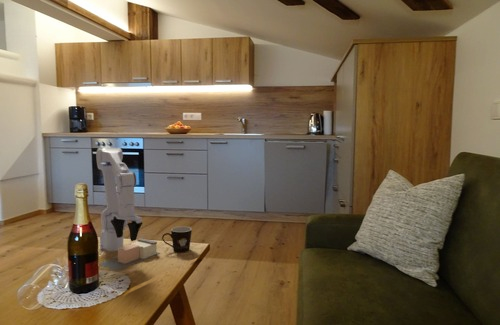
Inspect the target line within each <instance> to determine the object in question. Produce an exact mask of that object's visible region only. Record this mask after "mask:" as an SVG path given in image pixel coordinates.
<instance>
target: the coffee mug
mask: <svg viewBox="0 0 500 325" xmlns="http://www.w3.org/2000/svg"><path fill="white" fill-rule="evenodd" d="M192 231H193V229H192V227H189V226H175V227H172V228H171V230H170V232H171V233H169V232H167V233H164V234H162V237H161V240H162V241H163V242H164V243H165V244H166V245H168V246H170V247H171V248H172V249H173V252H174V253H178V254H181V253H182V254H183V253H187V252H189V251H190V247H191V238H192ZM167 235H168V236H170V237H171V242H172V244H170V243H168V242H167V241H165V239H164V237H165V236H167Z"/></svg>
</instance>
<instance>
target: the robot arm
mask: <svg viewBox="0 0 500 325" xmlns="http://www.w3.org/2000/svg"><path fill="white" fill-rule="evenodd" d="M95 153H96V154H95V155H96V157H95V158H96V166H97V169H98V170H100V171H101V172H102V175H103V176H102V177H103V184H104V194H105V203H106V208H105V209H104V210H103V211H102V212H100V227H101V229H102V230H101V232H100V233H99V247H100V248H99V250H105V251H108V252H115V251H117V252H118V249H119V248H122V247H124V230H125V228H127V227H128V229H129V230H128V231H129V237H130V242H134V241H135V242H136V241H137V238H138V235H139V232H140V229H141V227H142V225H143V217H142V216H139V215H136V214H135V187H136V186H137V175H136V172H135V171H130V169H129V167H128V166H127V164H126V163H125V162H122V161H123V157H124V153H123V149H121V147H117V148H97V150H96V152H95Z"/></svg>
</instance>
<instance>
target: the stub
mask: <svg viewBox="0 0 500 325" xmlns="http://www.w3.org/2000/svg"><path fill="white" fill-rule="evenodd" d="M130 244H131V243H130ZM117 257H118V262H121V263H128V262H131V261H133V260H136V259H138V258H139V246H138V245H134V244H131V245H129V244H128V245H126V246H123V247H122V248H119V249H118V250H117Z"/></svg>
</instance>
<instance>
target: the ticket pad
mask: <svg viewBox="0 0 500 325" xmlns="http://www.w3.org/2000/svg"><path fill="white" fill-rule="evenodd" d="M131 244H134V245H138V246H139V258H142V259H145V258H147V257H150V256H152V255H155V254H157V252H158V251H157V245H158V242H157V241H154V240H150V239H145V238H142V237H140V238H138V239H137V238H136V241H135V242H134V241H133V243H132V242H131V243H129V244H128V245H131ZM145 260H146V259H145Z"/></svg>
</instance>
